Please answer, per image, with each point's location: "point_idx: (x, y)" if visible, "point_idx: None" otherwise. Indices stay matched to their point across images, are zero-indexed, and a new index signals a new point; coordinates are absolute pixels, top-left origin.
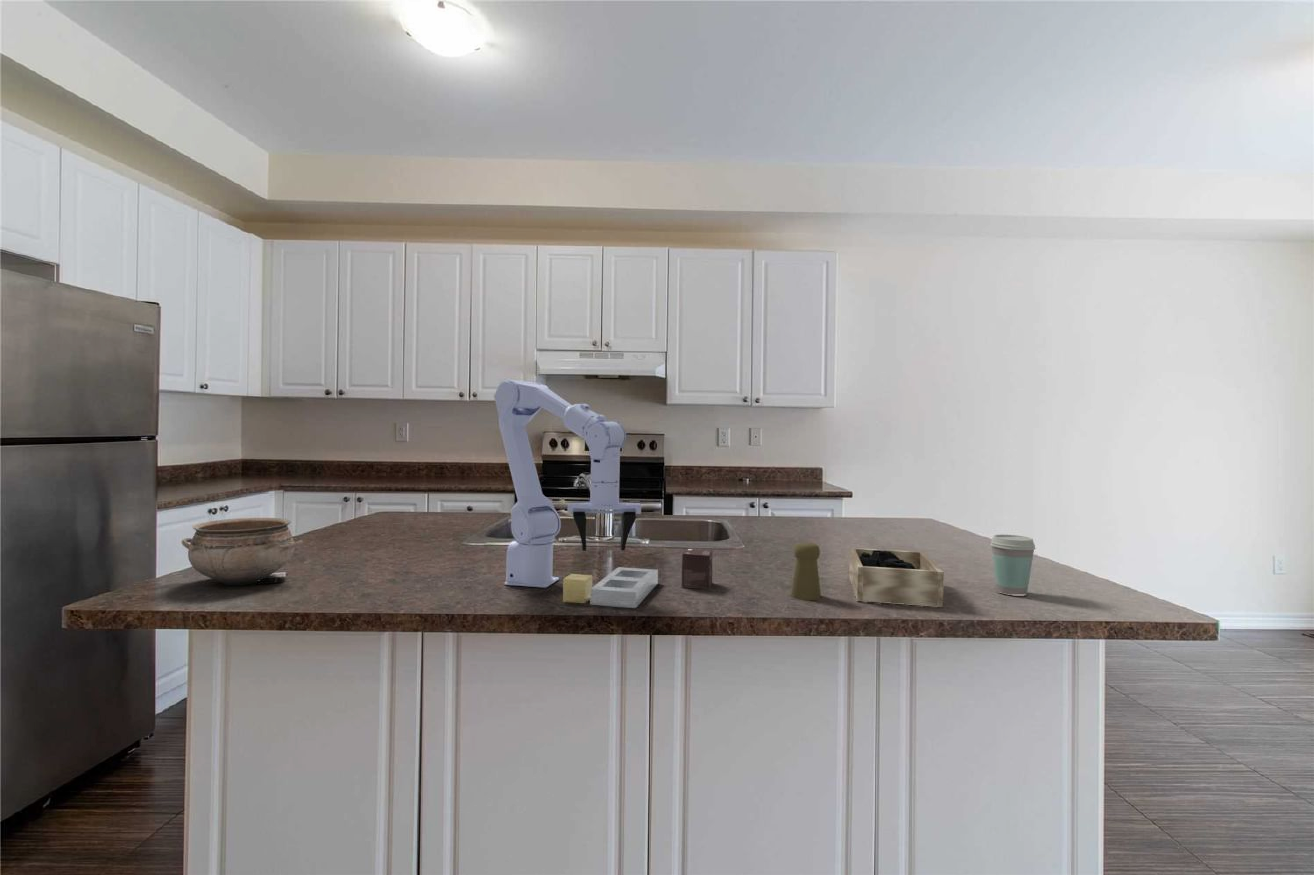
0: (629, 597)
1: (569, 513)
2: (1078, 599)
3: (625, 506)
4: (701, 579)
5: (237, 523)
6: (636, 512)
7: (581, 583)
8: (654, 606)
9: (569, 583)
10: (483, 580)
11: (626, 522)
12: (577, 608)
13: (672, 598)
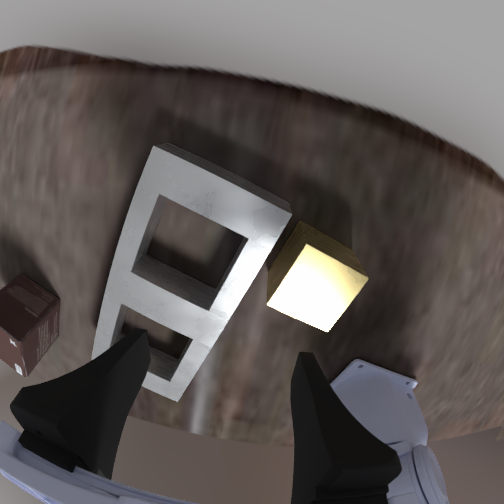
0: (177, 152)
1: (409, 494)
2: None
3: (39, 483)
4: (20, 288)
5: None
6: (13, 435)
7: (316, 246)
8: (121, 155)
9: (349, 263)
10: (428, 403)
11: (65, 398)
12: (330, 174)
13: (76, 220)
